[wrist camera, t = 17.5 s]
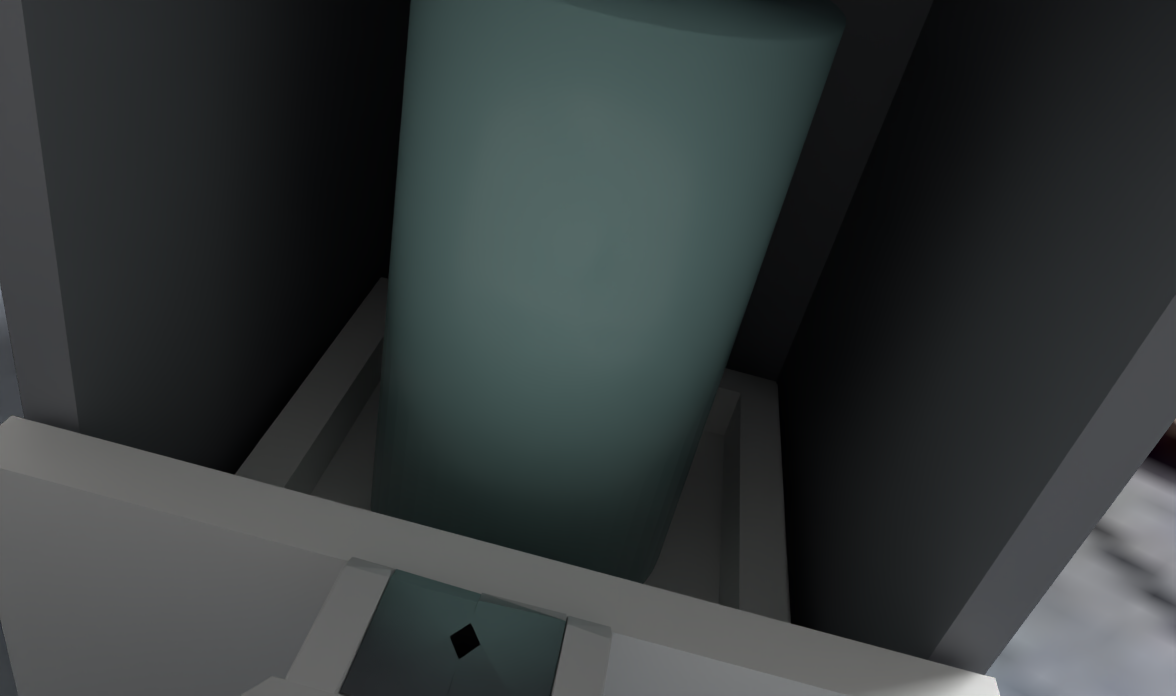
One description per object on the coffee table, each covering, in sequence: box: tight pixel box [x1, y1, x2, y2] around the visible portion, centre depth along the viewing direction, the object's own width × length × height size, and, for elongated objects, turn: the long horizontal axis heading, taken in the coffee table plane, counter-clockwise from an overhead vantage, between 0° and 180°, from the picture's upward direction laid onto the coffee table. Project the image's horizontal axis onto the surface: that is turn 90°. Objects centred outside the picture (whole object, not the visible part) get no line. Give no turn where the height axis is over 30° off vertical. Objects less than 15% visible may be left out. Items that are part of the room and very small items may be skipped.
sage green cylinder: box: [370, 0, 846, 584], centre depth 14 cm, size 5×5×10 cm
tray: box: [0, 277, 1000, 696], centre depth 16 cm, size 12×12×5 cm
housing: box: [0, 0, 1176, 675], centre depth 15 cm, size 13×12×14 cm
